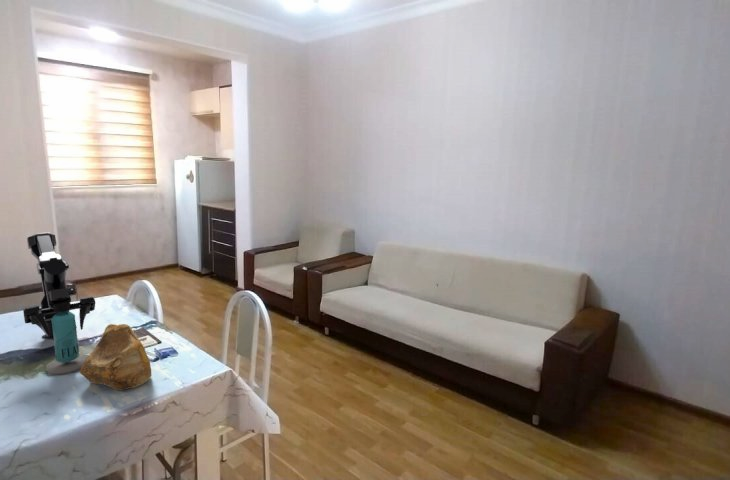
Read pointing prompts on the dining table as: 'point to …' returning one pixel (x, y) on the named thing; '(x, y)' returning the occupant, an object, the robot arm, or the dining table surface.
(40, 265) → the robot arm
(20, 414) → the dining table surface
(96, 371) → the rough brown rock
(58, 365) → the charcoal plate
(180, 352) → the dining table surface
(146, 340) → the chocolate bar
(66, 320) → the beverage bottle
